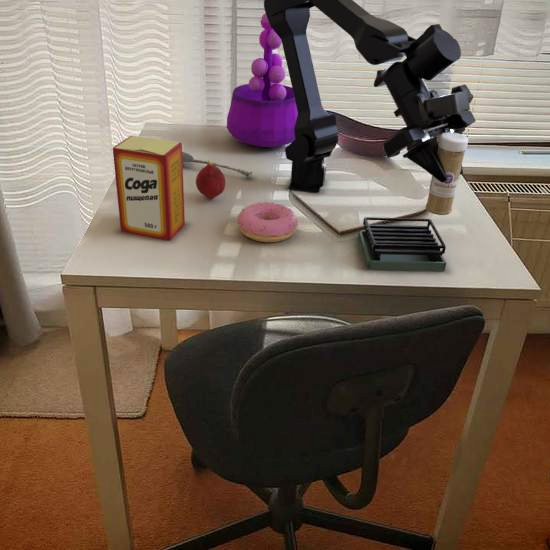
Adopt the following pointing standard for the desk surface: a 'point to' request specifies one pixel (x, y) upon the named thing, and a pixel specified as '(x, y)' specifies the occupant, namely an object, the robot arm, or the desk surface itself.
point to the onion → (210, 181)
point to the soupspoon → (189, 158)
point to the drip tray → (398, 259)
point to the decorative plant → (264, 99)
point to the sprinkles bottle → (447, 173)
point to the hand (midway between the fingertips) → (452, 178)
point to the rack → (403, 239)
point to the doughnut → (267, 222)
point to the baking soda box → (150, 186)
